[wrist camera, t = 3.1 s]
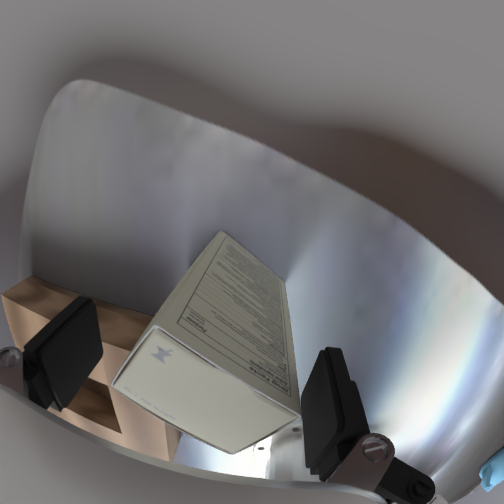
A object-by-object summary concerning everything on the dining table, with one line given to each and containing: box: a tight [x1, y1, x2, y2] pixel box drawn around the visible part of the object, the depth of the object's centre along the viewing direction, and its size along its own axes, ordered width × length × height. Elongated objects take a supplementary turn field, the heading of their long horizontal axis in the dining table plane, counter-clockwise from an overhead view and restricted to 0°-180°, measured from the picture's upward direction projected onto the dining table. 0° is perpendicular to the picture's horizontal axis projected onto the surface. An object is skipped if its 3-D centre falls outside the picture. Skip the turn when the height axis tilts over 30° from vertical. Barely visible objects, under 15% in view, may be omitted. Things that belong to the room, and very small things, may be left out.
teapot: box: [479, 447, 504, 492], centre depth 26 cm, size 15×15×11 cm
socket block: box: [1, 276, 181, 462], centre depth 22 cm, size 18×18×5 cm
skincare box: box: [111, 231, 302, 454], centre depth 14 cm, size 6×4×12 cm
